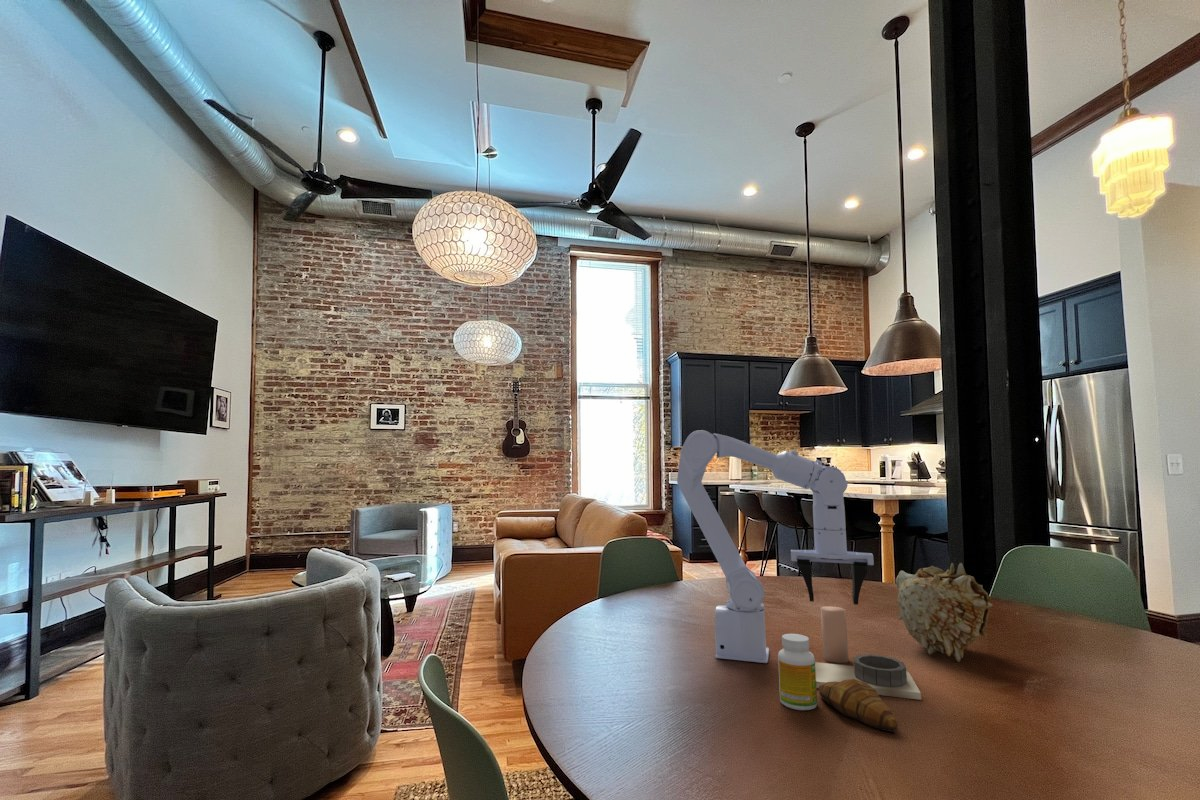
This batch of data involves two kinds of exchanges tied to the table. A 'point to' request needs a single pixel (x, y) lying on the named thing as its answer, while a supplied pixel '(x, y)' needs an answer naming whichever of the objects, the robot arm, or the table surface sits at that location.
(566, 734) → the table surface
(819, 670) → the holder board
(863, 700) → the croissant
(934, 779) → the table surface
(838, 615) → the peg
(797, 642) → the supplement bottle
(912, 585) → the seashell
